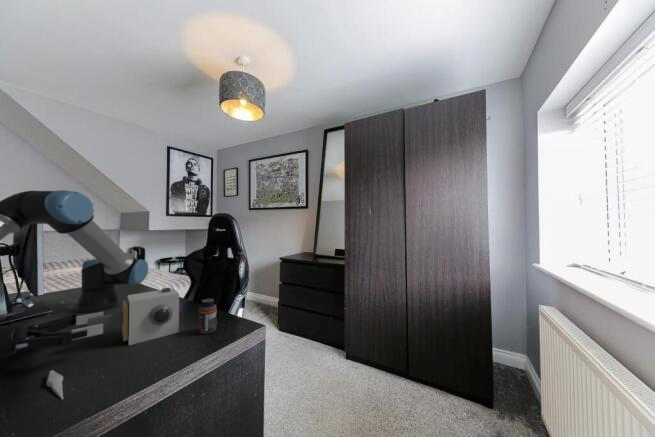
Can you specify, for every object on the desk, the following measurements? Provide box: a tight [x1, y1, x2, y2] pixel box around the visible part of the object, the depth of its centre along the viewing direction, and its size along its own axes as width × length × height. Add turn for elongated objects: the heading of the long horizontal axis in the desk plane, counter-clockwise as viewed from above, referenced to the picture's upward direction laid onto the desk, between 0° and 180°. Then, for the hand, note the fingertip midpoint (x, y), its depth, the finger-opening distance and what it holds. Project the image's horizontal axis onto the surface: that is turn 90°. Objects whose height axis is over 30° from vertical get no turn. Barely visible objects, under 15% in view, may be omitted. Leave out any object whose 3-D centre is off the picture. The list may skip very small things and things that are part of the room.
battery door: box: [86, 299, 128, 342], centre depth 79 cm, size 8×10×11 cm
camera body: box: [126, 287, 180, 346], centre depth 86 cm, size 12×14×15 cm
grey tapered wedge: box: [46, 369, 64, 400], centre depth 58 cm, size 15×3×2 cm, turn 55°
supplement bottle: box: [197, 298, 218, 335], centre depth 89 cm, size 6×6×11 cm
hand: (103, 321), depth 78 cm, fingers open, 13 cm apart
